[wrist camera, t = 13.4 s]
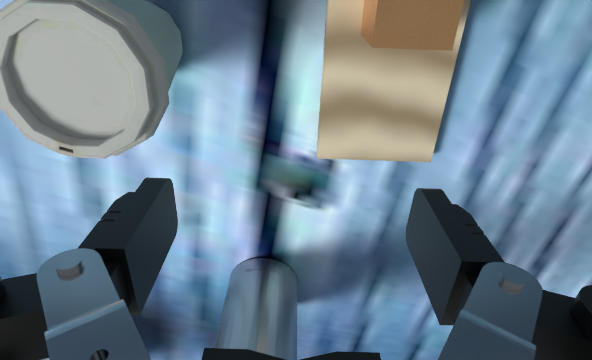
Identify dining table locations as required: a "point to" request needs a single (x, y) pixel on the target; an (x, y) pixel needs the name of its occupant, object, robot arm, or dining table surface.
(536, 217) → the dining table surface
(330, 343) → the dining table surface
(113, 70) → the disposable coffee cup
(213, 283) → the dining table surface
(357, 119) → the board
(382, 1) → the cardboard box
